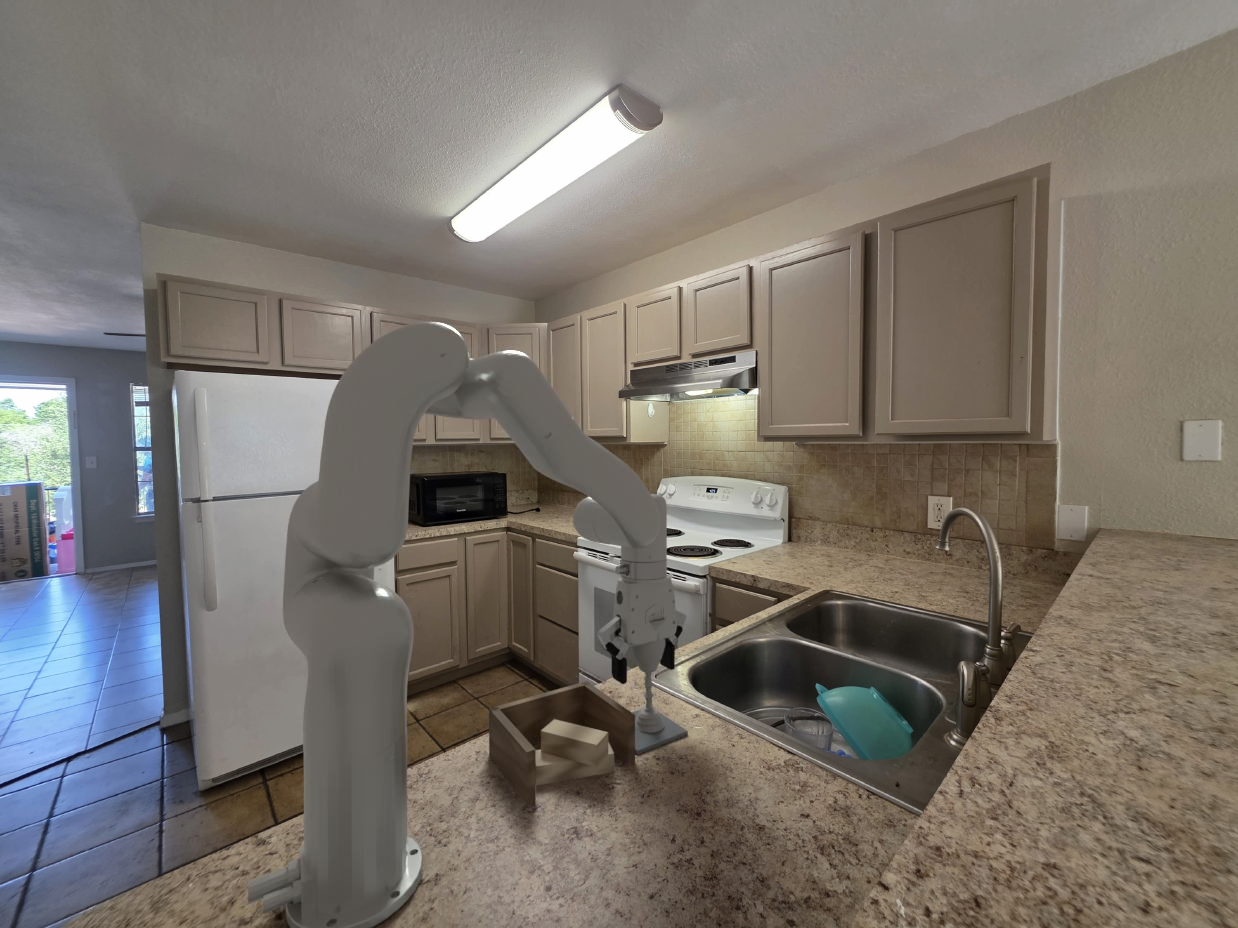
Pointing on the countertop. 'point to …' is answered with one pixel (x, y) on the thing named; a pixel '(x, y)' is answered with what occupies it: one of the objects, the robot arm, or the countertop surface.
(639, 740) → the slate tile
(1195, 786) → the countertop surface
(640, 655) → the chalice
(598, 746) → the offcut upper
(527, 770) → the brown wooden u-shaped frame
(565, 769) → the offcut lower
